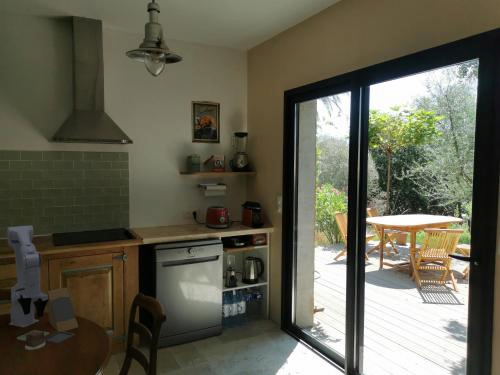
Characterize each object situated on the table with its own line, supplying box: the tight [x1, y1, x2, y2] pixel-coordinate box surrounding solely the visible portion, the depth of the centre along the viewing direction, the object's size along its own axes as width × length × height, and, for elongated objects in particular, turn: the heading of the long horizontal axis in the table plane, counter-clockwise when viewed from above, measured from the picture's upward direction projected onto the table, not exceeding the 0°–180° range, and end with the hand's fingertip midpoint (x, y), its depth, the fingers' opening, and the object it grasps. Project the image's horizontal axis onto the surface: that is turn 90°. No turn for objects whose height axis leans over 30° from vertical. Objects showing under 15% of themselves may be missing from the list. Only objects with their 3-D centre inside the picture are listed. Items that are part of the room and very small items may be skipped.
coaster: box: [24, 341, 46, 351], centre depth 152 cm, size 7×7×1 cm
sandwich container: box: [47, 287, 79, 332], centre depth 171 cm, size 9×15×15 cm, turn 42°
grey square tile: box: [44, 331, 76, 345], centre depth 158 cm, size 8×8×1 cm
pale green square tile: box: [16, 329, 50, 342], centre depth 160 cm, size 8×8×1 cm
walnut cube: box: [25, 329, 45, 347], centre depth 151 cm, size 4×4×5 cm
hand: (33, 315), depth 159 cm, fingers open, 7 cm apart
